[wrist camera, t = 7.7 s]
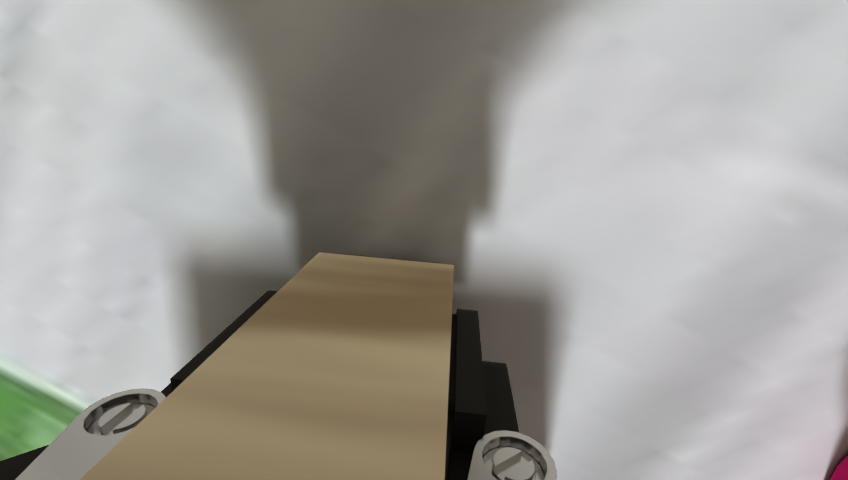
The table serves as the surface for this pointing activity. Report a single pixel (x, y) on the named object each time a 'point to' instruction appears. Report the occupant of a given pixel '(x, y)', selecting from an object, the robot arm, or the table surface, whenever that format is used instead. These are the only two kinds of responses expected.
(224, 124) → the table surface
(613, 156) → the table surface
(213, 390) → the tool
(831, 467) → the table surface
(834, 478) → the pepper mill
